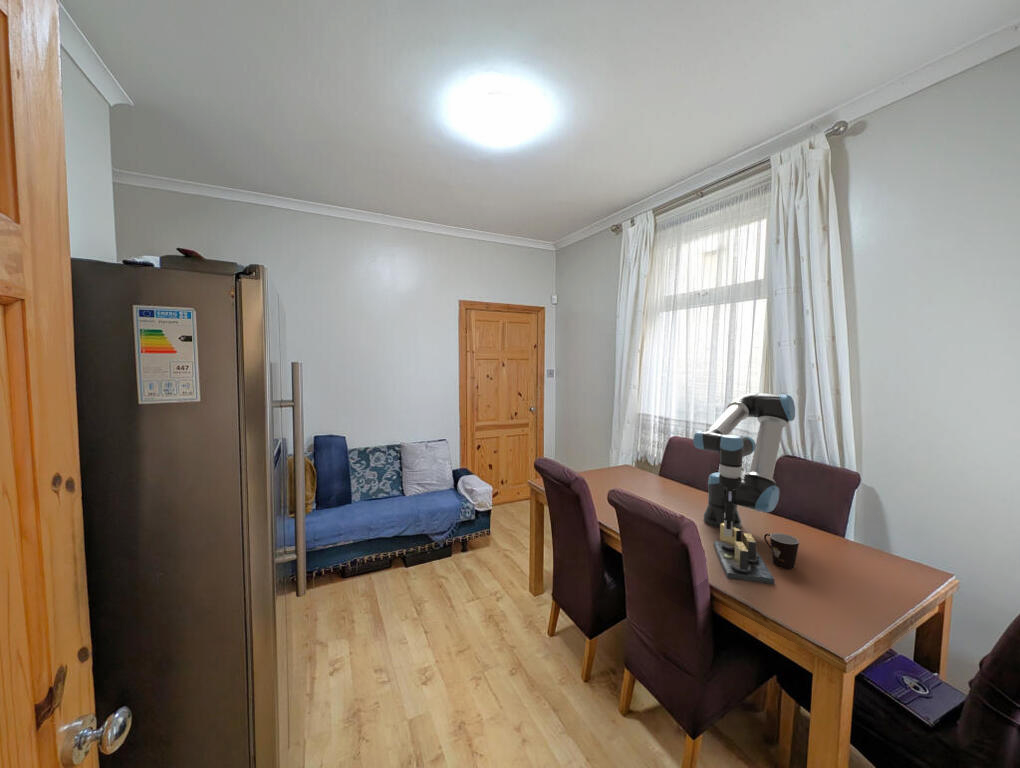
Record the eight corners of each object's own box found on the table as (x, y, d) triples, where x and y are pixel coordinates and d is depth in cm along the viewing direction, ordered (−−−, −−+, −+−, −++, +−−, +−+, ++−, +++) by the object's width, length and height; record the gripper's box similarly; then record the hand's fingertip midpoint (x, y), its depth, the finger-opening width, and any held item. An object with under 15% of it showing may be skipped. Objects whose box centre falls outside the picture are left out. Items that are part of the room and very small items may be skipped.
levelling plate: (713, 545, 155) (713, 539, 155) (753, 550, 151) (753, 544, 151) (727, 578, 132) (727, 571, 132) (774, 584, 128) (774, 577, 128)
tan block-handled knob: (716, 544, 152) (716, 524, 151) (727, 541, 154) (727, 522, 153) (733, 552, 145) (733, 532, 144) (744, 549, 147) (744, 529, 147)
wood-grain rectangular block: (737, 552, 145) (737, 532, 144) (755, 555, 143) (755, 534, 142) (742, 562, 138) (742, 541, 137) (761, 565, 136) (762, 543, 136)
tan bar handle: (728, 561, 139) (729, 540, 138) (747, 564, 137) (748, 542, 136) (733, 572, 132) (734, 550, 131) (753, 575, 130) (754, 552, 129)
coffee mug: (803, 572, 135) (804, 545, 134) (776, 570, 137) (776, 543, 136) (786, 555, 146) (787, 530, 146) (761, 554, 148) (762, 528, 147)
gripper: (742, 484, 138) (740, 545, 140) (740, 470, 154) (737, 525, 156) (719, 481, 142) (716, 540, 144) (719, 467, 158) (716, 521, 160)
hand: (727, 532), depth 150 cm, fingers closed on tan block-handled knob, 5 cm apart
